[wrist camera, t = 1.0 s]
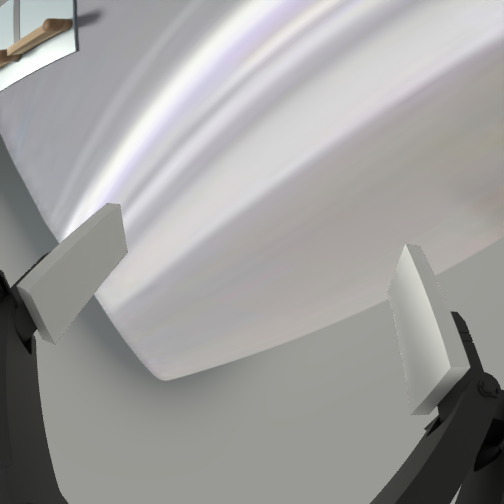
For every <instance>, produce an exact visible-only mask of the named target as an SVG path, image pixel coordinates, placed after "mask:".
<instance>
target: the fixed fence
mask: <svg viewBox="0 0 504 504" xmlns="http://www.w3.org/2000/svg"><path fill="white" fill-rule="evenodd" d="M72 24H73V22H72V20H71V19H57V18H48V19H46V20H45V21H44V23H43V25H42V26H40V27H39V28H37V29H35V30H34V31H32V32H31V33H29V34H27V35H26V36H24V37H23V38H21V39H20V40H18V41H17V42H16V43H14V44H13V45H11V46H10V47H8V48H7V49H3V50H0V63H4V62H10V61H15V60H18V59H19V58H20V56H21V54H23V53H25V52H26V51H28V50H29V49H31V48H33V47H34V46H36V45H38V44H40V43H41V42H43V41H45V40H47V39H48V38H50V37H52V36H54V35H56V34H58V33H60V32H62V31H68V30H70V29H71V27H72Z"/></svg>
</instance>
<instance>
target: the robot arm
mask: <svg viewBox="0 0 504 504" xmlns="http://www.w3.org/2000/svg"><path fill="white" fill-rule="evenodd" d="M127 253H128V250H127V245H126V239H125V233H124V227H123V221H122V214H121V207H120V204H112V203H107V204H106V205H105V206H103V207H102V208H101V209H100V210H98V211H97V212H96V213H95V214H93V215H92V216H91V217H90V218H89V219H87V220H86V221H85V222H84V223H83V224H82V225H80V226H79V227H78V228H77V229H76V230H75V231H73V232H72V233H71V234H70V235H69V236H68V237H67V238H66V239H64V240H63V241H62V242H61V243H60V244H59V245H58V246H57V247H56V248H55V249H53V250H52V251H50V252H49V253H47V254H45V255H44V256H43V257H41V258H40V259H39V260H38V261H37V262H36V264H34V265H33V266H32V267H31V269H29V270H28V271H27V272H26V273H25V274H24V275H23V276H22V277H21V278H20V279H19V280H18V281H17V282H16V283H15V284H14V285H13V286H12V287H11V288H10V286H9V284H8V282H7V280H6V278H5V275H4V273H3V272H2V271H1V270H0V504H68V502H67V501H66V500H65V498H64V497H63V496H62V494H61V492H60V490H59V488H58V484H57V481H56V478H55V473H54V470H53V466H52V462H51V457H50V453H49V448H48V444H47V438H46V433H45V428H44V422H43V415H42V408H41V401H40V392H39V384H38V371H37V356H36V339H35V336H34V335H33V333H34V332H35V331H36V330H38V332H39V333H40V335H41V337H42V339H43V340H46V341H48V342H50V343H53V344H56V343H57V342H58V341H59V339H60V338H61V336H62V335H63V334H64V332H65V331H66V330H67V328H68V327H69V325H70V324H71V323H72V321H73V320H74V319H75V317H76V316H77V314H78V313H79V312H80V311H81V310H82V308H83V307H84V306H85V304H86V303H87V302H88V301H89V299H90V298H91V297H92V295H93V294H94V293H95V292H96V290H97V289H98V288H99V287H100V285H101V284H102V283H103V282H104V280H105V279H106V278H107V277H108V276H109V274H110V273H111V272H112V271H113V270H114V268H115V267H116V266H117V265H118V264H119V262H120V261H121V260H122V259H123V258H124V256H125V255H126V254H127ZM387 293H388V297H389V301H390V305H391V310H392V314H393V318H394V323H395V327H396V332H397V337H398V342H399V346H400V351H401V357H402V363H403V368H404V374H405V380H406V386H407V393H408V400H409V407H410V414H411V415H426V414H430V413H431V412H432V410H433V409H434V408H435V407H436V406H438V412H439V415H438V416H437V417H436V418H435V419H434V420H433V421H432V422H431V423H430V424H429V425H428V426H427V427H426V428H425V430H427V429H428V430H427V431H426V433H425V434H424V436H423V437H422V439H421V440H420V442H419V443H418V445H417V446H416V447H415V449H414V450H413V452H412V453H411V454H410V456H409V457H408V458H407V460H406V461H405V462H404V464H403V465H402V466H401V468H400V469H399V471H397V473H396V474H395V475H394V476H393V478H392V479H391V480H390V481H389V482H388V484H387V485H386V486H385V487H384V488H383V489H382V491H381V492H380V493H379V494H378V495H377V496H376V498H375V499H374V500H373V501H372V502H371V503H370V504H450V503H451V501H452V499H453V498H454V496H455V495H456V493H457V491H458V489H459V488H460V486H461V488H460V491H459V494H458V497H457V500H456V502H455V504H504V390H501V388H500V385H499V383H498V381H497V380H496V379H495V378H494V377H493V376H492V375H490V374H488V373H486V372H484V371H483V368H482V365H481V362H480V359H479V356H478V354H477V351H476V348H475V345H474V343H472V341H473V340H472V337H471V335H470V334H469V330H468V327H467V325H466V323H465V321H464V320H463V319H462V317H461V316H460V315H459V314H458V312H451V311H450V310H449V307H448V305H447V303H446V300H445V298H444V295H443V293H442V291H441V289H440V286H439V284H438V282H437V280H436V277H435V275H434V273H433V271H432V269H431V267H430V265H429V263H428V261H427V258H426V256H425V254H424V252H423V250H422V248H421V246H417V245H412V244H406V243H405V246H404V249H403V252H402V254H401V257H400V260H399V263H398V266H397V268H396V271H395V274H394V276H393V279H392V281H391V284H390V287H389V289H388V292H387ZM461 484H462V485H461Z"/></svg>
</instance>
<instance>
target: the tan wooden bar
mask: <svg viewBox="0 0 504 504" xmlns="http://www.w3.org/2000/svg"><path fill="white" fill-rule="evenodd" d="M10 62H11V61H10ZM8 63H9V62H4V63H0V68H2V67H3V66H5V65H6V64H8Z"/></svg>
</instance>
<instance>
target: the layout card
mask: <svg viewBox="0 0 504 504" xmlns="http://www.w3.org/2000/svg"><path fill="white" fill-rule="evenodd" d="M48 18H57V19H71V20H72V22H73V24H72V27H71V29H70V30H68V31H62V32H60V33H58V34H56V35H54V36H52V37H50V38H48V39H47V40H45V41H43V42H41V43H40V44H38V45H36V46H34V47H33V48H31V49H29V50H28V51H26V52H25V53H23V54H21V56H20V58H19V59H18V60H15V61H11V62H9V63H8V64H6V65H5V66H3V67H2V68H0V91H2V90H4V89H5V88H7V87H9V86H10V85H12V84H14V83H15V82H17V81H19V80H20V79H22V78H24V77H26V76H27V75H29V74H31V73H33V72H35V71H37V70H39V69H41V68H42V67H44V66H46V65H48V64H50V63H52V62H54V61H57V60H59V59H61V58H63V57H65V56H67V55H70V54H72V53H74V52H76V51H77V43H76V28H75V2H74V0H9V1H7V2H6V3H5V4H4V5H2V6H1V7H0V50H3V49H7V48H8V47H10V46H11V45H13V44H14V43H16V42H17V41H18V40H20V39H21V38H23V37H24V36H26V35H27V34H29V33H31V32H32V31H34V30H35V29H37V28H39V27H40V26H42V25H43V23H44V21H45V20H46V19H48Z"/></svg>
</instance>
